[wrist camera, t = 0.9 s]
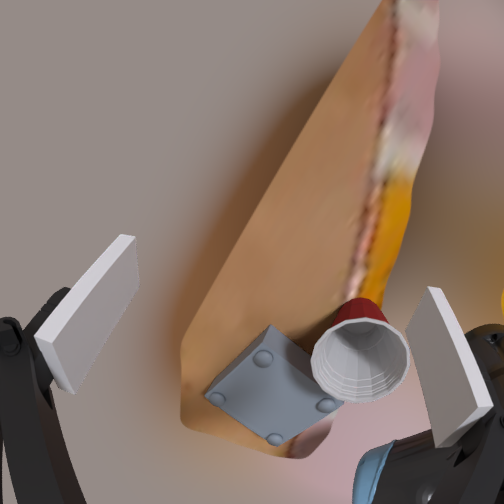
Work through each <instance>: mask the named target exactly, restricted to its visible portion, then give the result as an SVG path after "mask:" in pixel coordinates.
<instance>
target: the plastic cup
mask: <svg viewBox="0 0 504 504" xmlns="http://www.w3.org/2000/svg"><path fill="white" fill-rule="evenodd" d="M311 366H312V372H313V377H314V378H315V380H316V381H317V382H318V384H319V385H320V387H321V388H322V389H323V390H324V391H325V392H327V393H328V394H330V395H331V396H333V397H335V398H336V399H338V400H342V401H347V402H351V403H363V402H373V401H376V400H378V399H380V398H382V397H385V396H387V395H389V394H391V393H392V392H393V391H394V390H395V389H396V388H397V387H398V386H399V385H400V384H401V383H402V382H403V381H404V378H405V376H406V374H407V372H408V369H409V367H410V349H409V347H408V345H407V343H406V341H405V339H404V338H403V336H402V334H401V333H400V332H399V331H397V330H396V329H395V328H393V327H392V326H391V325H390V324H389V323H388V321H387V319H386V318H385V316H384V315H383V313H382V311H380V310H379V308H378V306H377V305H376V304H375V303H374V302H372V301H371V300H369V299H365V298H355V299H352V300H350V301H348V302H346V303H345V304H344V305H343V307H342V308H341V309H340V310H339V313H338V315H337V317H336V318H335V320H334V322H333V324H332V326H331V328H330V329H328V330H327V331H326V332H325V333H324V334H323V336H322V337H321V338H320V339H319V340H318V342H317V343H316V344H315V346H314V350H313V354H312V357H311Z"/></svg>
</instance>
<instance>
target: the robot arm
mask: <svg viewBox="0 0 504 504" xmlns="http://www.w3.org/2000/svg"><path fill="white" fill-rule="evenodd" d="M139 287H140V285H139V273H138V261H137V246H136V237H134V236H129V235H123V234H120V235H119V236H118V238H117V239H116V240H115V241H114V242H113V243H112V244H111V245H110V246H109V247H108V248H107V249H106V250H105V252H104V253H103V254H102V255H101V256H100V257H99V258H98V259H97V260H96V261H95V263H94V264H93V265H92V266H91V267H90V268H89V269H88V271H87V272H86V273H85V274H84V275H83V276H82V277H81V278H80V280H79V281H78V282H77V283H76V284H75V285H74V287H73V288H72V289H70V288H67V287H64V288H62V289H60V290H59V291H57V292H55V293H54V294H53V295H52V296H51V297H50V299H49V300H48V301H47V303H46V304H44V306H43V307H42V308H41V311H39V312H38V313H37V314H36V315H35V316H34V318H33V319H32V320H31V321H30V323H29V324H28V325H27V326H26V327H25V329H24V330H22V328H21V326H20V323H19V322H18V321H17V320H16V319H15V318H12V317H3V318H0V504H3V499H2V451H3V441H4V446H5V452H6V458H7V462H8V467H9V472H10V476H11V480H12V484H13V488H14V492H15V496H16V499H17V503H18V504H87V503H86V501H85V498H84V496H83V493H82V491H81V488H80V486H79V483H78V480H77V477H76V475H75V472H74V469H73V467H72V463H71V461H70V458H69V454H68V451H67V448H66V445H65V441H64V438H63V434H62V431H61V427H60V424H59V420H58V416H57V412H56V408H55V404H54V399H53V395H52V390H51V388H50V386H49V385H50V384H51V382H52V380H53V379H54V380H55V382H56V384H57V386H58V388H60V389H62V390H64V391H67V392H69V393H72V394H74V395H76V393H77V391H78V389H79V387H80V386H81V384H82V382H83V380H84V378H85V377H86V375H87V373H88V371H89V370H90V368H91V366H92V364H93V363H94V361H95V359H96V357H97V356H98V354H99V352H100V351H101V349H102V347H103V346H104V344H105V342H106V340H107V339H108V337H109V335H110V334H111V332H112V330H113V329H114V327H115V326H116V324H117V322H118V321H119V319H120V317H121V316H122V314H123V313H124V311H125V309H126V308H127V306H128V305H129V303H130V301H131V300H132V298H133V297H134V295H135V294H136V292H137V290H138V289H139ZM405 332H406V335H407V339H408V342H409V345H410V348H411V351H412V355H413V358H414V362H415V365H416V369H417V372H418V376H419V380H420V383H421V387H422V390H423V395H424V399H425V403H426V407H427V411H428V415H429V419H430V423H431V428H432V429H430V430H427V431H424V432H422V433H419V434H416V435H413V436H410V437H407V438H404V439H401V440H393V441H392V442H391V443H388V444H385V445H383V446H380V447H377V448H374V449H371V450H369V451H368V452H366V453H365V454H364V455H363V456H362V458H361V459H360V461H359V464H358V466H357V469H356V473H355V478H354V484H353V496H352V504H504V325H500V324H487V325H483V326H479V327H477V328H475V329H473V330H471V331H469V332H468V333H466V334H463V332H462V329H461V327H460V325H459V323H458V321H457V319H456V317H455V315H454V313H453V311H452V309H451V307H450V305H449V303H448V301H447V299H446V298H445V296H444V294H443V292H442V290H441V289H440V288H435V287H427V288H426V290H425V293H424V295H423V297H422V299H421V301H420V303H419V305H418V307H417V309H416V311H415V313H414V315H413V317H412V319H411V320H410V322H409V324H408V326H407V328H406V330H405Z"/></svg>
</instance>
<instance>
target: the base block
mask: <svg viewBox="0 0 504 504" xmlns="http://www.w3.org/2000/svg"><path fill="white" fill-rule="evenodd" d="M204 397H206V398H207V399H208V400H209V401H210V403H211V404H212V405H214V406H217V407H219V408H220V409H222V410H223V411H225V412H226V413H227V414H229V415H230V416H232V417H233V418H234V419H236V420H237V421H239V422H240V423H242V424H243V425H244V426H246V427H247V428H249V429H250V430H252V431H253V432H255V433H256V434H258V435H259V436H261V437H262V438H264V439H265V440H267V442H268V443H269V444H270V445H273V446H276V447H277V446H279V445H281V444H283V443H284V442H286V441H288V440H289V439H291V438H293V437H294V436H296V435H298V434H299V433H301V432H302V431H304V430H306V429H307V428H309V427H310V426H312V425H313V424H315V423H316V422H318V421H319V420H321V419H322V418H324V417H325V416H327V415H328V414H330V413H331V412H333V411H334V410H336V409H337V408H339V407H340V406H341V405H343V404H344V401H342V400H338V399H336V398H335V397H333V396H331V395H330V394H328V393H327V392H325V391H324V390H323V389H322V388H321V387H320V385H319V384H318V382H317V381H316V380H315V378H314V377H313V372H312V366H311V356H310V355H309V354H307V353H306V352H305V351H304V350H302V349H301V348H300V347H299V346H297V345H296V344H295V343H294V342H292V341H291V340H290V339H289V338H287V337H286V336H285V335H284V334H282V333H281V332H280V331H279V330H277V329H276V328H275V327H274V326H272V325H271V324H270V325H269V326H268V327H267V328H266V329H265V330H264V331H263V332H262V333H261V334H260V335H259V336H258V337H257V338H256V339H255V340H254V341H253V342H252V343H251V344H250V345H249V346H248V347H247V348H246V349H245V350H244V351H243V352H242V353H241V354H240V355H239V356H238V357H237V358H236V359H235V360H234V361H233V362H232V363H231V364H229V365H228V366H227V367H226V368H225V369H224V370H223V371H222V372H221V373H220V374H219V375H218V376H217V377H216V378H215V379H214V381H213V382H212V384H211V386H210V387H209V389H208V391H207V392H206V394H205V396H204Z"/></svg>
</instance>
